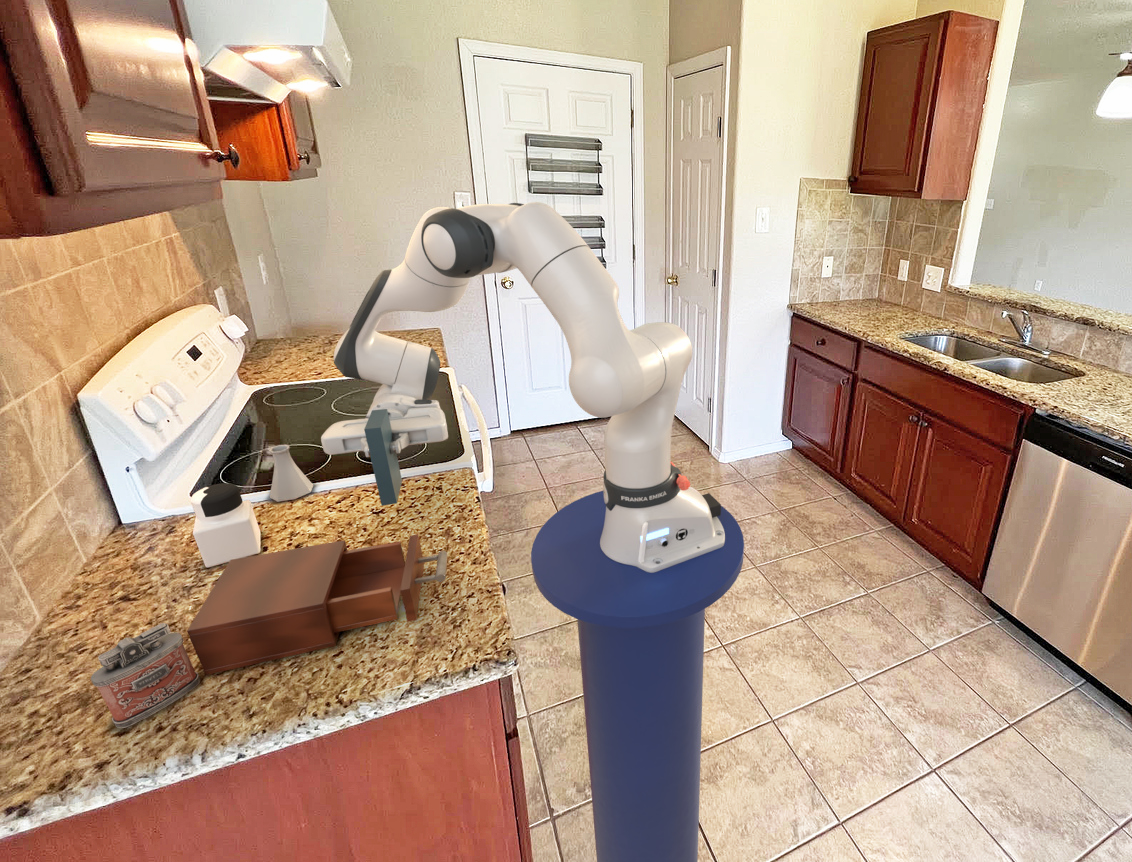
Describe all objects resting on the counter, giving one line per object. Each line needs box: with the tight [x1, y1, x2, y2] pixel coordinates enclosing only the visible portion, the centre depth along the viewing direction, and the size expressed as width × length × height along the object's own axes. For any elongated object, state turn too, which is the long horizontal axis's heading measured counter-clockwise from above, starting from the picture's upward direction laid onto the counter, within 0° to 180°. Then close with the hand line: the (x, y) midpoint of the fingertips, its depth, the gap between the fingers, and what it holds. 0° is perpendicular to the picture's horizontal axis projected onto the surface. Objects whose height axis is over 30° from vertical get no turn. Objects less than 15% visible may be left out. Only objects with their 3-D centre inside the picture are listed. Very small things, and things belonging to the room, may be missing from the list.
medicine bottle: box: [190, 482, 261, 568], centre depth 95 cm, size 7×7×12 cm
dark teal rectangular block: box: [364, 409, 403, 507], centre depth 101 cm, size 2×8×15 cm, turn 21°
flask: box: [268, 443, 314, 502], centre depth 112 cm, size 7×7×10 cm
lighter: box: [90, 622, 201, 729], centre depth 69 cm, size 8×3×10 cm, turn 151°
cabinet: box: [186, 539, 349, 676], centre depth 82 cm, size 15×15×8 cm
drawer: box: [326, 534, 449, 633], centre depth 86 cm, size 18×13×6 cm
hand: (382, 451), depth 99 cm, fingers closed on dark teal rectangular block, 2 cm apart
